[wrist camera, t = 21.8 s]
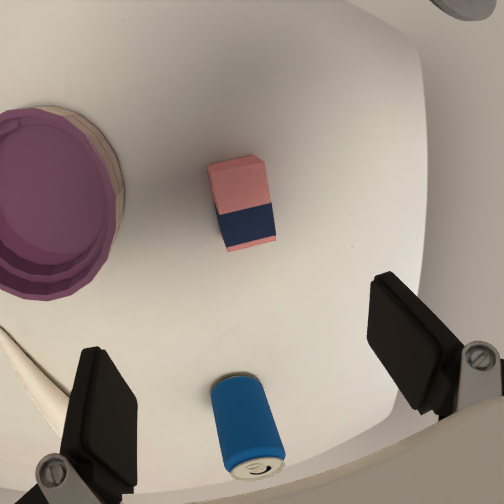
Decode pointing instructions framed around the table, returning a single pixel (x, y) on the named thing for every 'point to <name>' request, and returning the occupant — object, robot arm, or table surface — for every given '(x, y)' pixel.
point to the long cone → (37, 385)
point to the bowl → (55, 202)
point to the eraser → (242, 202)
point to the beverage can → (246, 429)
